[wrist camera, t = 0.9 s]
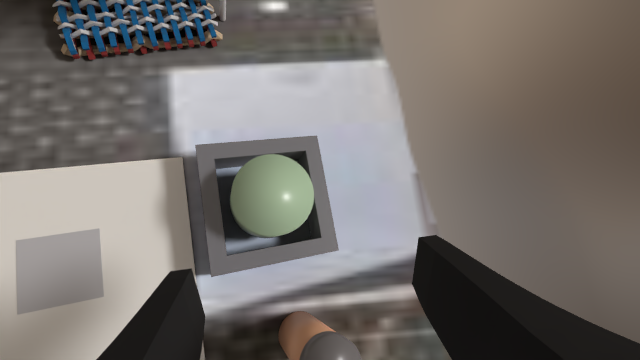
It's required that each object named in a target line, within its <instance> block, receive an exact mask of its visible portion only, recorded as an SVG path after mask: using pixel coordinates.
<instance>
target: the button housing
mask: <svg viewBox="0 0 640 360" xmlns="http://www.w3.org/2000/svg"><path fill="white" fill-rule="evenodd" d="M195 146H196V154H197V163H198V171H199V179H200V188H201V196H202V204H203V213H204V221H205V229H206V238H207V246H208V254H209V263H210V271H211V277H213V276H218V275H223V274H228V273H232V272H237V271H242V270H247V269H251V268H256V267H261V266H266V265H271V264H275V263H280V262H285V261H290V260H294V259H299V258H304V257H309V256H313V255H318V254H323V253H328V252H333V251H337V250H339V249H338V244H337V239H336V234H335V228H334V223H333V218H332V212H331V207H330V202H329V197H328V191H327V186H326V181H325V176H324V170H323V165H322V160H321V154H320V149H319V144H318V139H317V136H306V137H293V138H280V139H267V140H254V141H241V142H228V143H215V144H202V145H195ZM267 154H277V155H282V156H285V157H288V158H290V159H292V160H294V161H297V160H298V164H299V165H301V166H302V167H303V168H304V170H305V171H306V172H307V174H308V175H309V177H310V179H311V182H312V185H313V189H314V202H313V207H312V210H311V212H310V214H309V216H308V223H309V229H310V234H311V239H310V240H305V241H300V242H294V243H289V244H284V245H279V246H273V247H268V248H263V249H258V250H253V251H247V252H242V253H237V254H232V255H227V253H226V245H225V237H224V230H223V222H222V214H221V207H220V199H219V191H218V184H217V176H216V169H218V168H228V167H238V166H244V165H245V164H246V163H247V162H248V161H250V160H252V159H253V158H256V157H258V156H262V155H267Z"/></svg>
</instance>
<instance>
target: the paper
mask: <svg viewBox="0 0 640 360" xmlns="http://www.w3.org/2000/svg"><path fill="white" fill-rule="evenodd" d="M190 268H192V271H193V275H194V278H195V282H196V274H195V265H194V256H193V247H192V238H191V229H190V220H189V211H188V202H187V194H186V185H185V176H184V167H183V158H182V157H177V158H166V159H154V160H143V161H132V162H120V163H109V164H97V165H86V166H75V167H63V168H52V169H40V170H29V171H18V172H6V173H0V360H96V359H97V358H98V357H99V356H100V355H101V354H102V353H103V352H104V350H105V349H106V348H107V347H108V346H109V345H110V344H111V343H112V342H113V340H114V339H115V338H116V337H117V336H118V335H119V333H120V332H121V331H122V330H123V329H124V327H125V326H126V325H127V324H128V323H129V321H130V320H131V319H132V318H133V317H134V315H135V314H136V313H137V312H138V311H139V309H140V308H141V307H142V306H143V304H144V303H145V302H146V301H147V299H148V298H149V297H150V296H151V294H152V293H153V292H154V291H155V289H156V288H157V287H158V286H159V284H160V283H161V282H162V281H163V279H164V278H165V277H166V276H167V274H168V273H169V272H170V271H176V270H183V269H190ZM196 285H197V283H196ZM200 360H205V354H204V345H203V343H202V351H201V356H200Z"/></svg>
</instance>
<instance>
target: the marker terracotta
mask: <svg viewBox="0 0 640 360" xmlns="http://www.w3.org/2000/svg"><path fill="white" fill-rule="evenodd" d="M278 337H279V343H280V345H281V347H282V349H283V350H284V352H285V353H286V355H287V357H288V358H289V360H362V359H361V356H360V353H359V351H358V349H357V347H356V346H355V345H354V344H353V343H352V342H351V341H350V340H348V339H347V338H346V337H344V336H343V335H341V334H339V333H337V332H335V331H334V330H332V329H331V328H329V327H328V326H326V325H325V324H324V323H322V322H321V321H319V320H318V319H316V318H315V317H313V316H312V315H311V314H309V313H307V312H304V311H297V312H293V313H291V314H290V315H288V316H287V317H286V318H285V319H284V320H283V322H282V323H281V326H280V328H279V334H278Z"/></svg>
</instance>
